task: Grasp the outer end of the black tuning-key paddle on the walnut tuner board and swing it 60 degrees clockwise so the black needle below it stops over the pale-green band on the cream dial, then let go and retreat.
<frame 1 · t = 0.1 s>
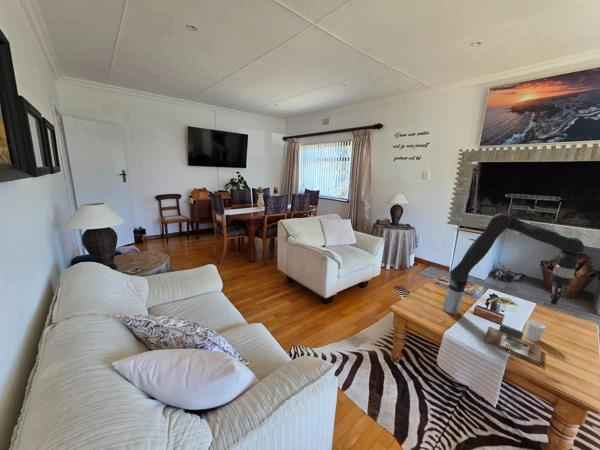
hand: (553, 301, 134), 29 cm above the table, fingers open, 8 cm apart
white cup: (531, 338, 148), on the table
peg key: (514, 335, 141), point 6 cm above the table, hinge at 0.0°
tuner board: (511, 345, 141), on the table
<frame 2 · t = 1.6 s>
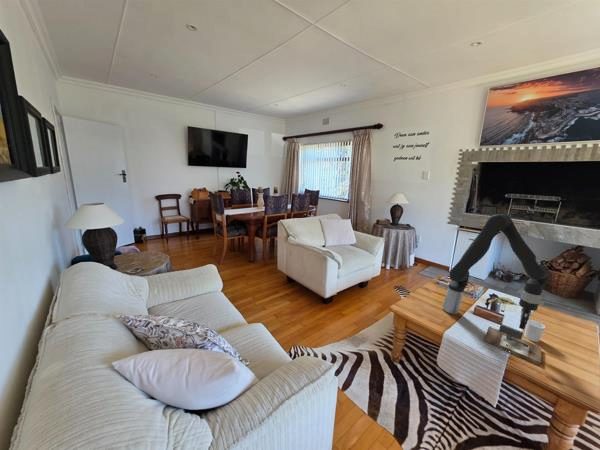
hand: (522, 325, 137), 14 cm above the table, fingers open, 8 cm apart
nothing on the table moved.
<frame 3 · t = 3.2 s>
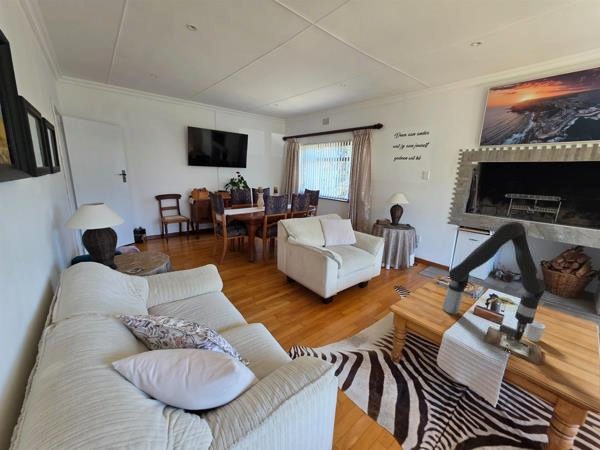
hand: (517, 338, 140), 4 cm above the table, fingers closed on peg key, 2 cm apart
peg key: (514, 335, 141), point 6 cm above the table, hinge at 0.0°, touching gripper
everything else where it was.
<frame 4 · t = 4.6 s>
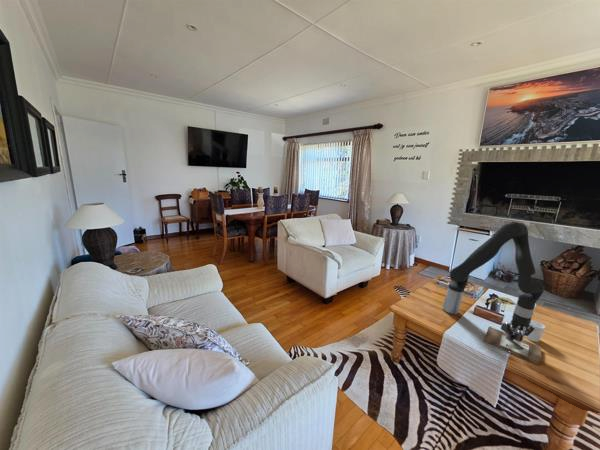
hand: (515, 339, 139), 4 cm above the table, fingers closed on peg key, 3 cm apart
peg key: (512, 335, 140), point 6 cm above the table, hinge at 39.8°, touching gripper
everything else where it was.
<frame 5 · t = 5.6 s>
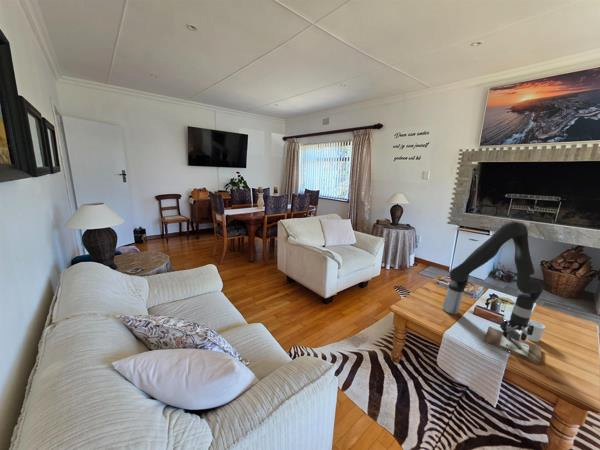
hand: (513, 338, 139), 6 cm above the table, fingers open, 8 cm apart
peg key: (512, 335, 140), point 6 cm above the table, hinge at 47.6°
everything else where it was.
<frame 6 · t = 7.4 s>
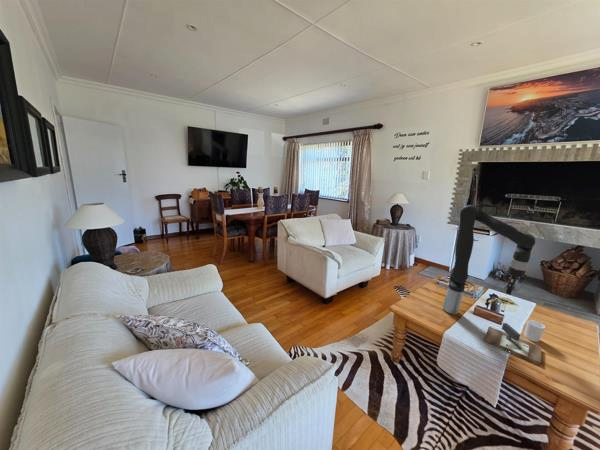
hand: (509, 291, 147), 27 cm above the table, fingers open, 8 cm apart
peg key: (512, 335, 140), point 6 cm above the table, hinge at 48.1°
everything else where it was.
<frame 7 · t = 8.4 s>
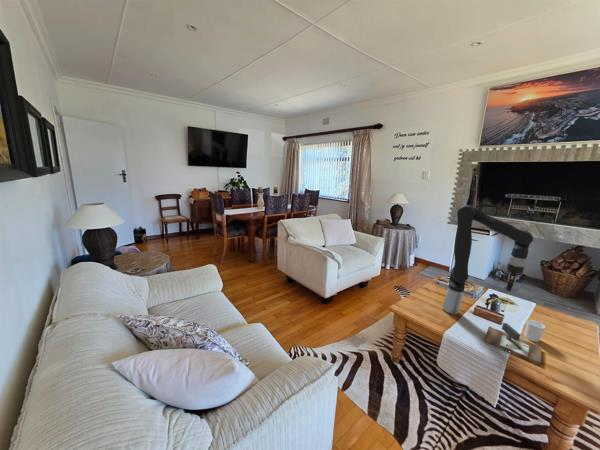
hand: (509, 288, 148), 28 cm above the table, fingers open, 8 cm apart
nothing on the table moved.
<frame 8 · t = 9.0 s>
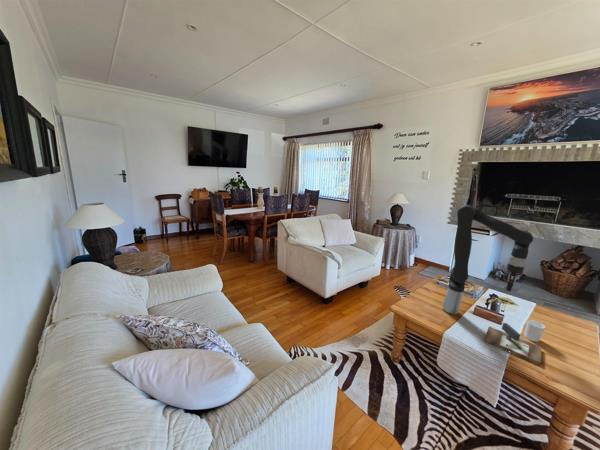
hand: (509, 288, 148), 28 cm above the table, fingers open, 8 cm apart
nothing on the table moved.
at the end: peg key at +48° (first picture: +0°); the gripper is holding nothing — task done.
